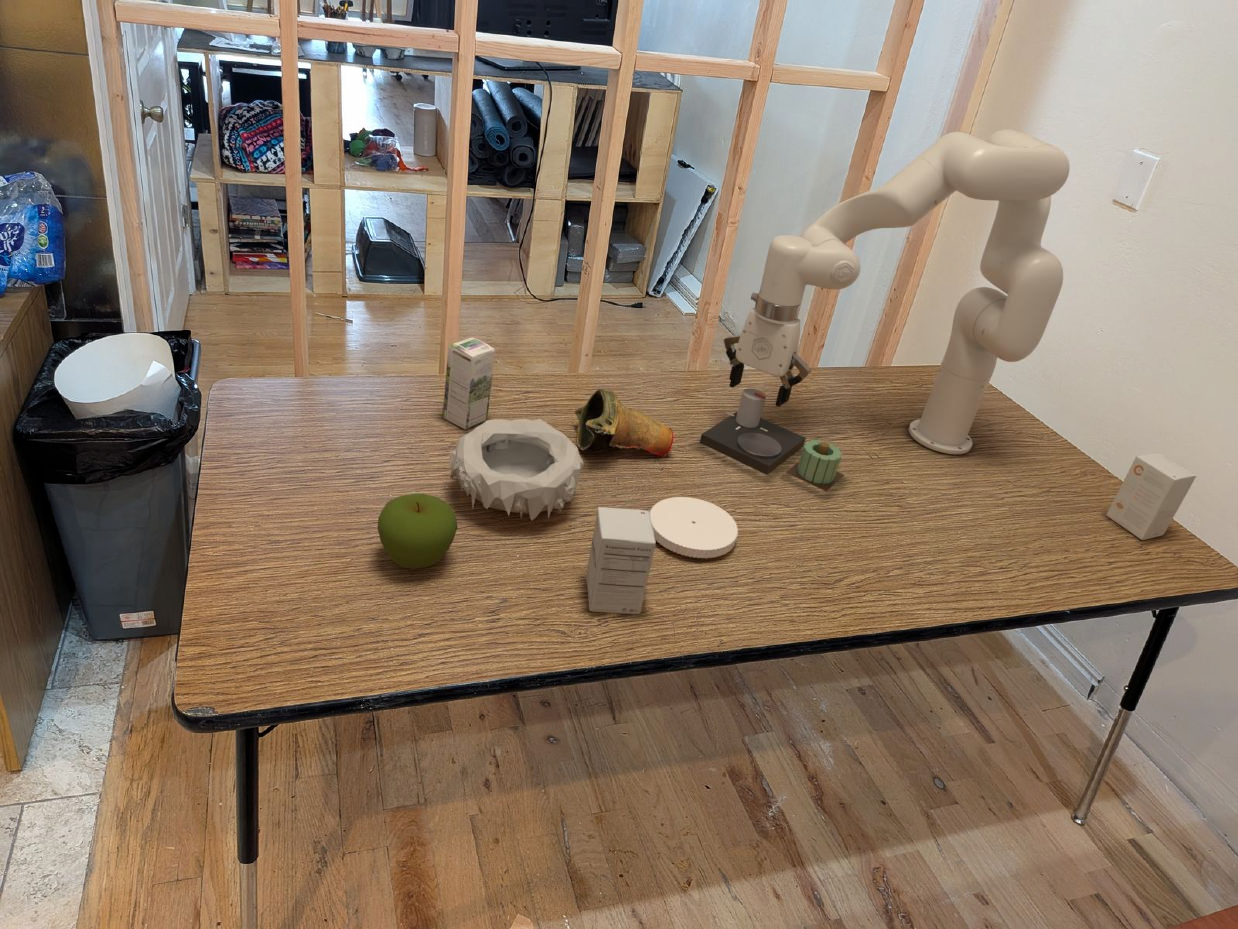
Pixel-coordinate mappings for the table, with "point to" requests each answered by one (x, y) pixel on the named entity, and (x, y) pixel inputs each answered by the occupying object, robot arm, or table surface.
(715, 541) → the plastic lid
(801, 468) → the ring
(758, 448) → the burner
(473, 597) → the table surface
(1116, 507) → the small box
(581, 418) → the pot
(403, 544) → the apple
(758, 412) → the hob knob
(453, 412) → the syrup box
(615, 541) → the white packaging box
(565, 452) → the bowl
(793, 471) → the peg stand
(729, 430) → the hob
